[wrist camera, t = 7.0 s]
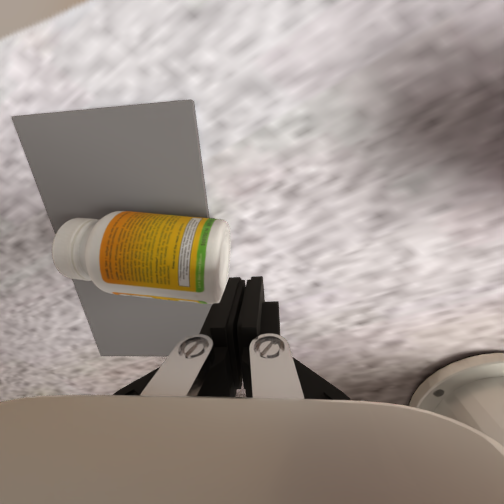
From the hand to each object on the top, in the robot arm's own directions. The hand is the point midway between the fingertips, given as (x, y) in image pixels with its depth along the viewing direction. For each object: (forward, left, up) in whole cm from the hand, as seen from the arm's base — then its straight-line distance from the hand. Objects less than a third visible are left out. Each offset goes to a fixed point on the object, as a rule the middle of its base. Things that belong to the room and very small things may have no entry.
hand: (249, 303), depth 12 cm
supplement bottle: (+1, +2, -4) cm, 4 cm away
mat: (0, +9, -7) cm, 12 cm away
